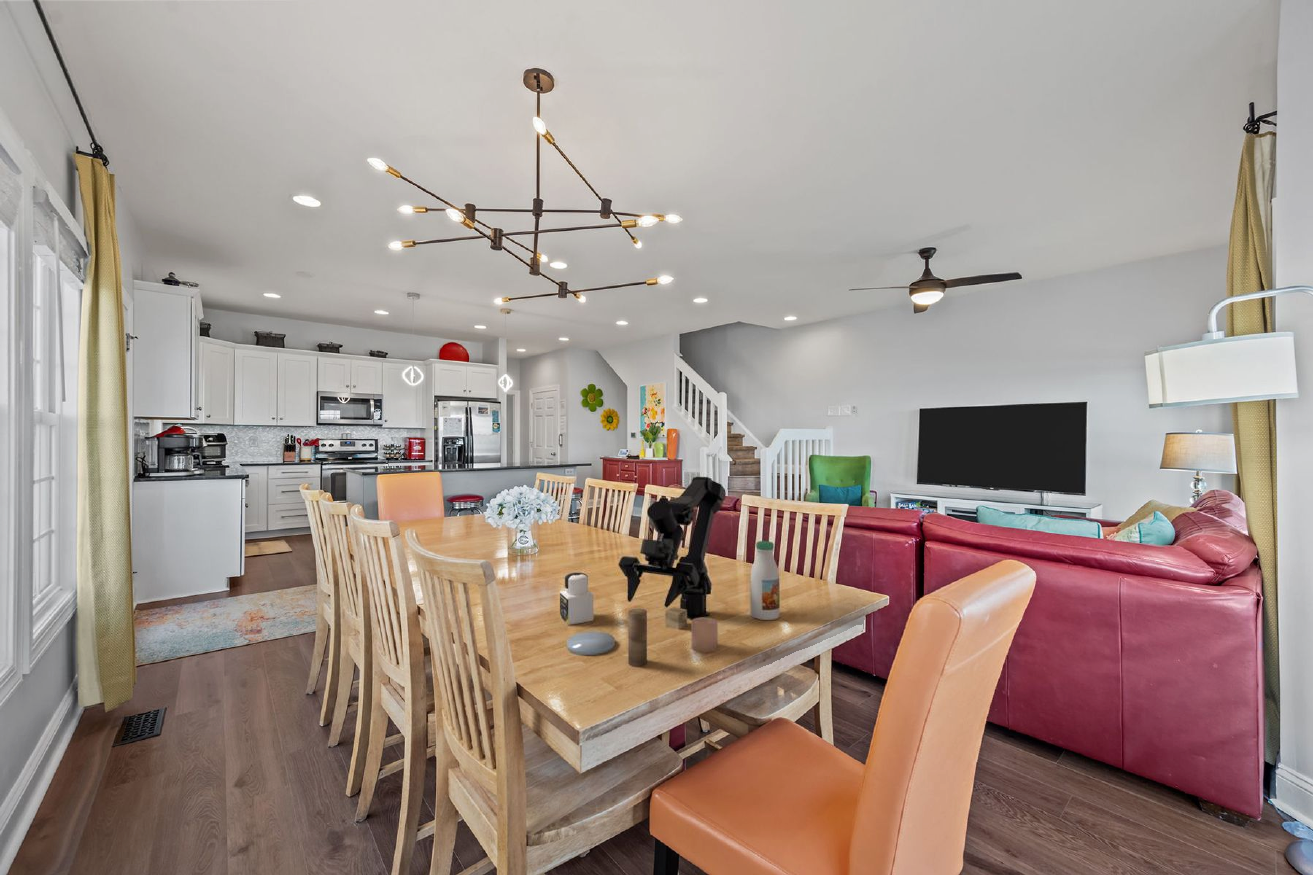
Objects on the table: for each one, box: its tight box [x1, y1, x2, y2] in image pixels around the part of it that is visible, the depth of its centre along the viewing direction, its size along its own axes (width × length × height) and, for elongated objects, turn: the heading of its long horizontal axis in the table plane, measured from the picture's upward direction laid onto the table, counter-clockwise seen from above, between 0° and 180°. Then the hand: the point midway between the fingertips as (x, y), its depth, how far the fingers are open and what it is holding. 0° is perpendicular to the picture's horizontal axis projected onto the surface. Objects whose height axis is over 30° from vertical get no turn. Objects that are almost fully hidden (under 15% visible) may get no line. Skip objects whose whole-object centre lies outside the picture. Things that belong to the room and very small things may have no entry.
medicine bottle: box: [559, 572, 594, 626], centre depth 140 cm, size 7×7×12 cm
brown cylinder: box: [627, 608, 648, 668], centre depth 113 cm, size 4×4×11 cm
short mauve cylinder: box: [691, 616, 719, 654], centre depth 121 cm, size 6×6×6 cm
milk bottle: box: [749, 540, 781, 621], centre depth 142 cm, size 8×8×20 cm
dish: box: [566, 631, 616, 656], centre depth 122 cm, size 11×11×1 cm
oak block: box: [664, 606, 688, 630], centre depth 135 cm, size 4×4×4 cm
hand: (646, 603), depth 117 cm, fingers open, 9 cm apart
